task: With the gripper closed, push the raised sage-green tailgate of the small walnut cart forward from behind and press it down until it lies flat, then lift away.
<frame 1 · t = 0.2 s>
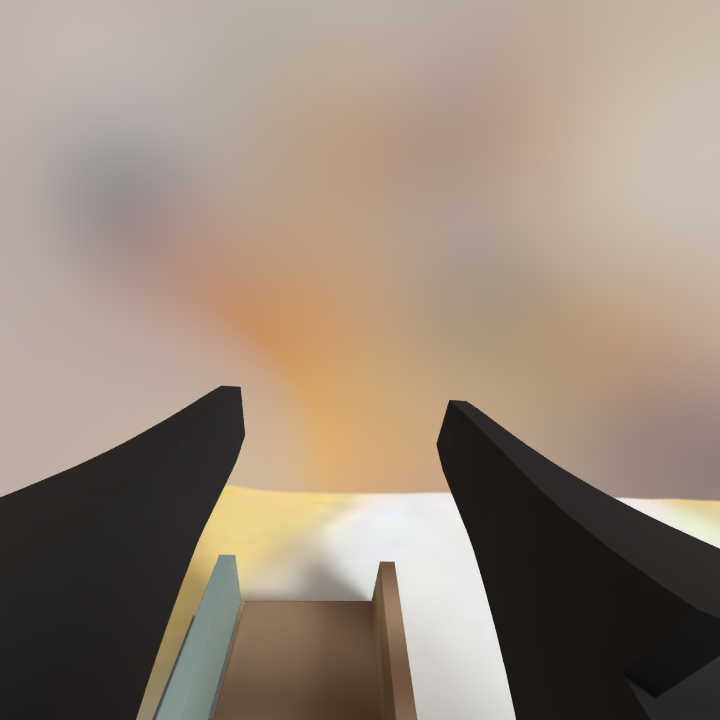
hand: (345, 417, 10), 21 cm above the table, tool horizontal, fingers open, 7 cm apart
tailgate: (184, 712, 14), point 4 cm above the table, hinge at 0.0°
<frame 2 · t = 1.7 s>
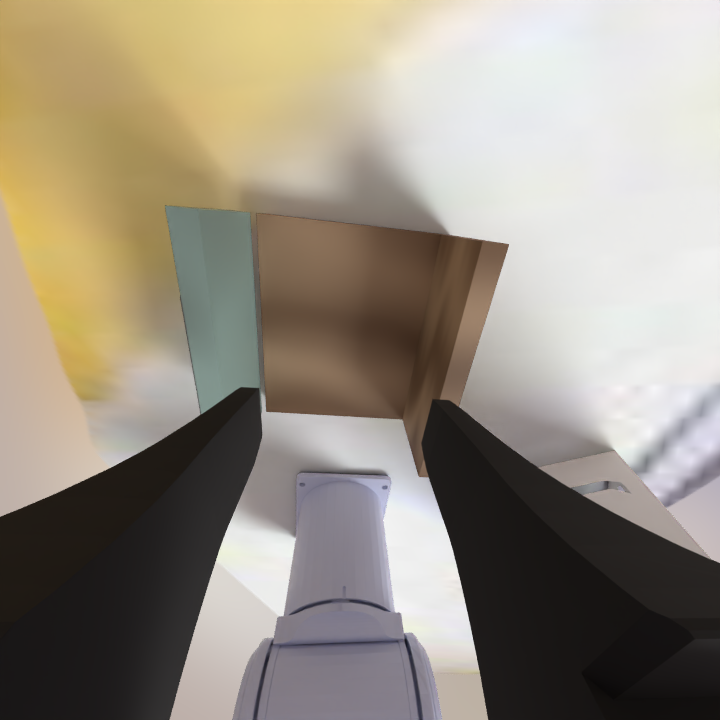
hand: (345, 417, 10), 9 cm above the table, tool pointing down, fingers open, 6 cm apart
tailgate: (227, 345, 14), point 4 cm above the table, hinge at 0.0°
grater: (549, 500, 27), on the table
cart bed: (350, 326, 18), on the table
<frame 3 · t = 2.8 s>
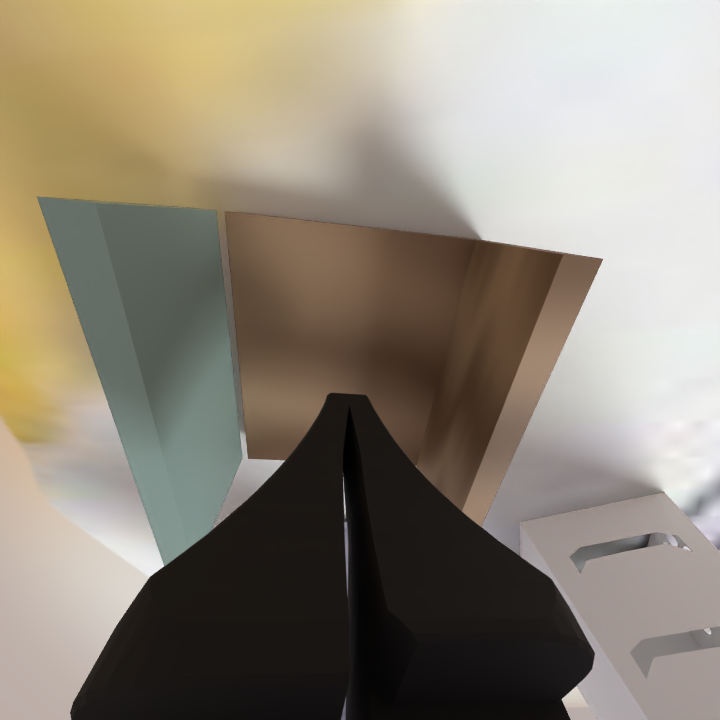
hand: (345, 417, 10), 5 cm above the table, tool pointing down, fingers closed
tailgate: (186, 392, 10), point 4 cm above the table, hinge at 0.0°
grater: (582, 545, 24), on the table
cart bed: (352, 354, 15), on the table
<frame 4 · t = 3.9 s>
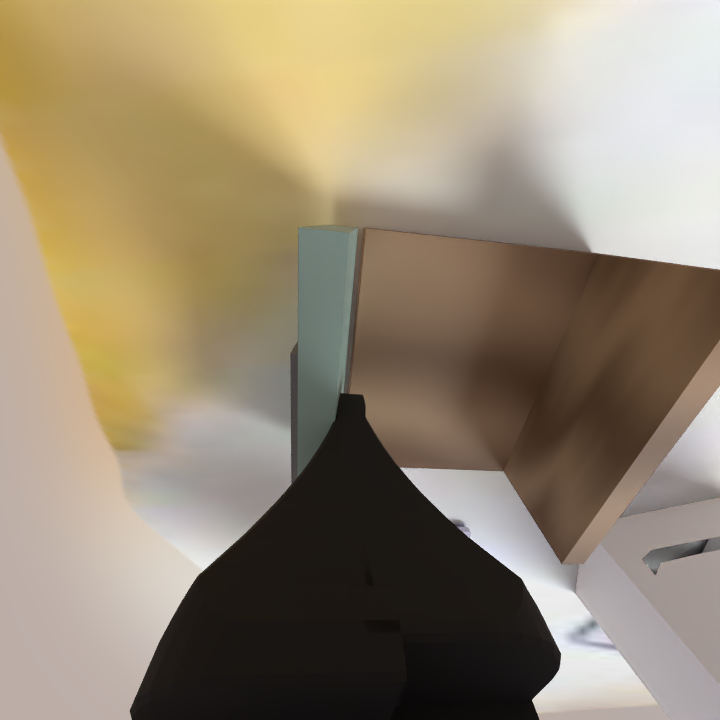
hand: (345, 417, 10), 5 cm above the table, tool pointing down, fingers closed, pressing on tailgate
tailgate: (323, 402, 11), point 4 cm above the table, hinge at 4.3°, touching gripper
grater: (641, 547, 24), on the table
cart bed: (449, 363, 15), on the table
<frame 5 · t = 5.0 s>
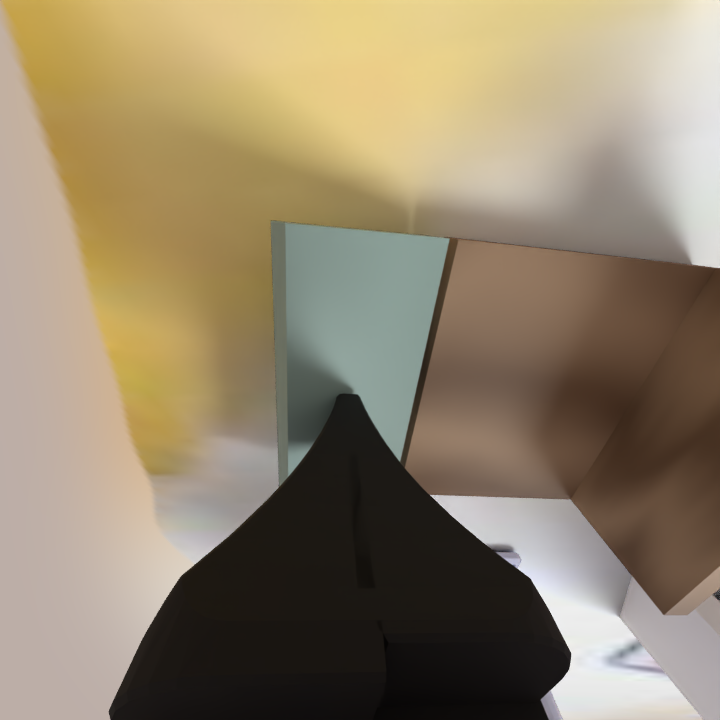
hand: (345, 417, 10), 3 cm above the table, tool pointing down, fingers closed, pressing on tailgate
tailgate: (351, 402, 11), point 2 cm above the table, hinge at 59.0°, touching gripper
grater: (694, 571, 23), on the table
cart bed: (520, 384, 14), on the table
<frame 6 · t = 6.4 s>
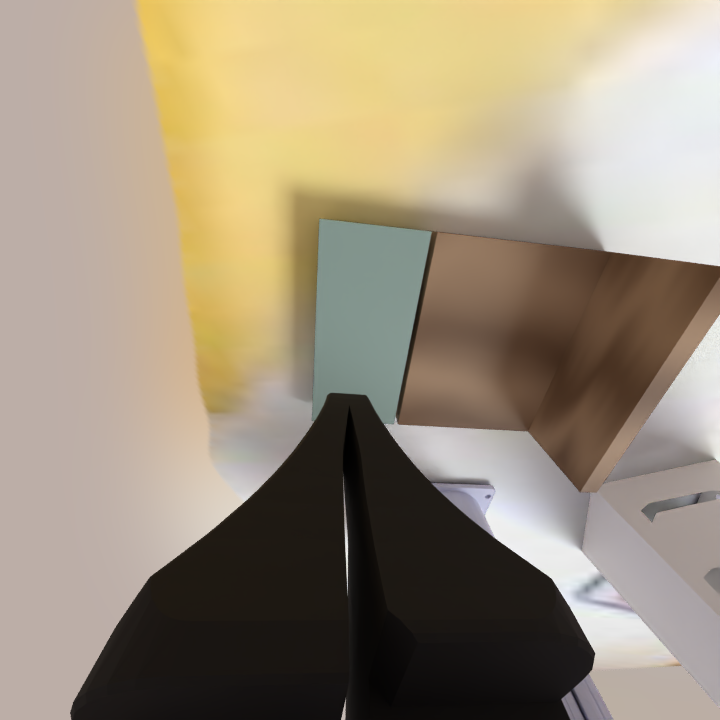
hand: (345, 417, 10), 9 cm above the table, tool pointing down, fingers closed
tailgate: (362, 335, 17), point 1 cm above the table, hinge at 89.1°
grater: (640, 507, 28), on the table
cart bed: (487, 340, 18), on the table
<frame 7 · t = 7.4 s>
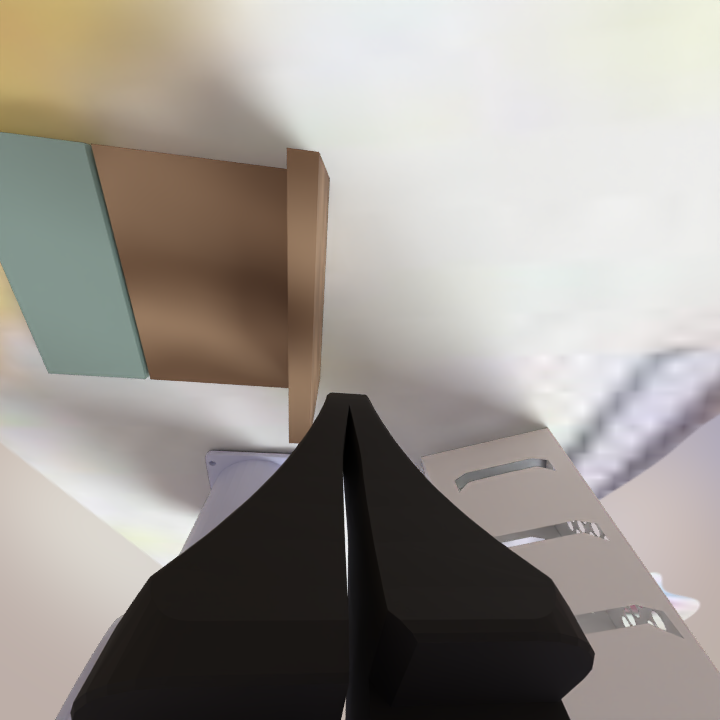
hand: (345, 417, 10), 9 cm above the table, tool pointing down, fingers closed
tailgate: (73, 274, 15), point 1 cm above the table, hinge at 89.2°
grater: (486, 483, 26), on the table
cart bed: (236, 285, 17), on the table
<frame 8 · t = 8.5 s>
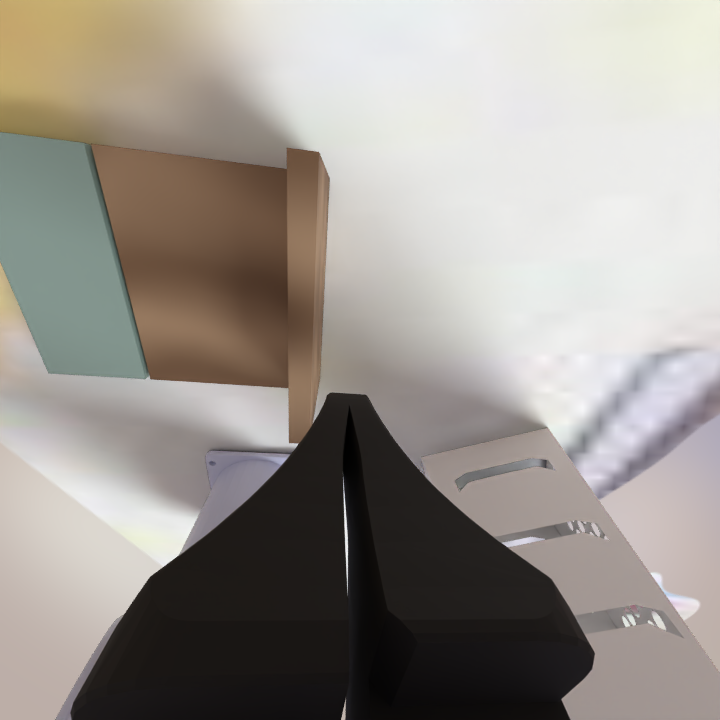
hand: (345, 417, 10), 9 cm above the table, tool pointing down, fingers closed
tailgate: (73, 274, 15), point 1 cm above the table, hinge at 89.2°
grater: (486, 483, 26), on the table
cart bed: (236, 285, 17), on the table
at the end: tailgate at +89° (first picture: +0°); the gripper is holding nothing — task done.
